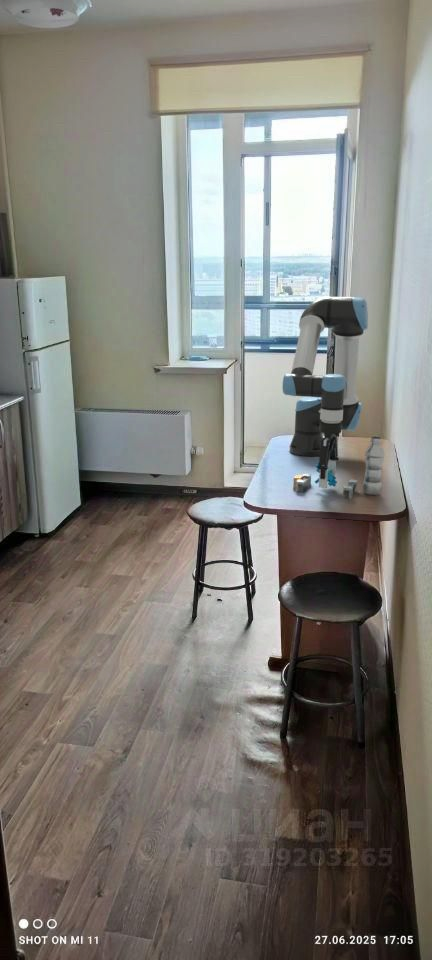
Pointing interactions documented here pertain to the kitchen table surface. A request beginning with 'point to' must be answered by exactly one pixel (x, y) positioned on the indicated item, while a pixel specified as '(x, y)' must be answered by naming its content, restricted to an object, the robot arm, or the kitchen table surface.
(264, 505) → the kitchen table surface
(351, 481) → the support blocks
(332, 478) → the gear
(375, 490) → the plastic bottle
